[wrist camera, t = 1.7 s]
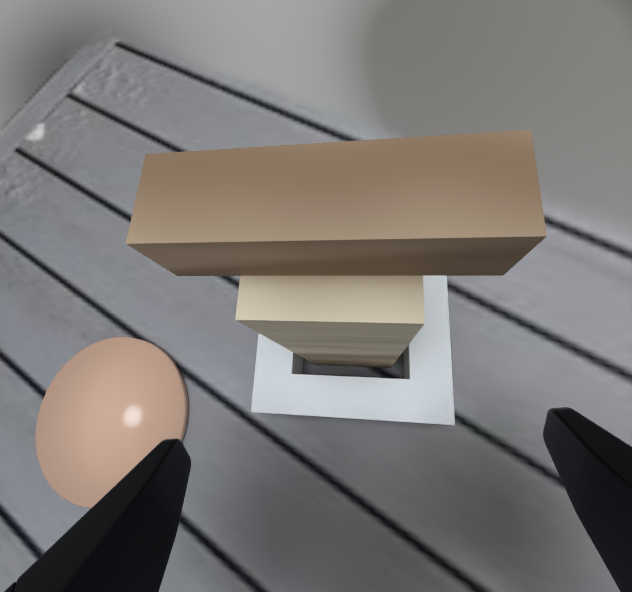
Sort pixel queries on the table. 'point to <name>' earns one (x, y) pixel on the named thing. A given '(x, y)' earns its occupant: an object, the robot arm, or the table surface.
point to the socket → (364, 392)
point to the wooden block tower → (341, 231)
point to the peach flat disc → (108, 416)
